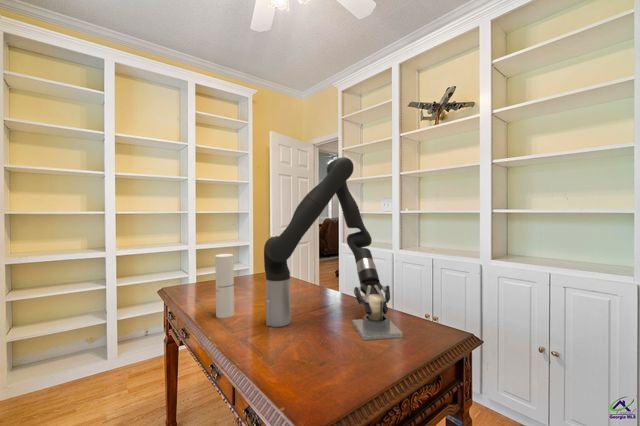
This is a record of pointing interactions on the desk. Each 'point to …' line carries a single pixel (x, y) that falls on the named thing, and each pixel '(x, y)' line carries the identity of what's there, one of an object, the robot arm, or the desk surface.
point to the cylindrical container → (224, 285)
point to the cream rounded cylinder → (376, 307)
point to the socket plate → (376, 328)
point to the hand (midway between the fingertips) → (377, 313)
